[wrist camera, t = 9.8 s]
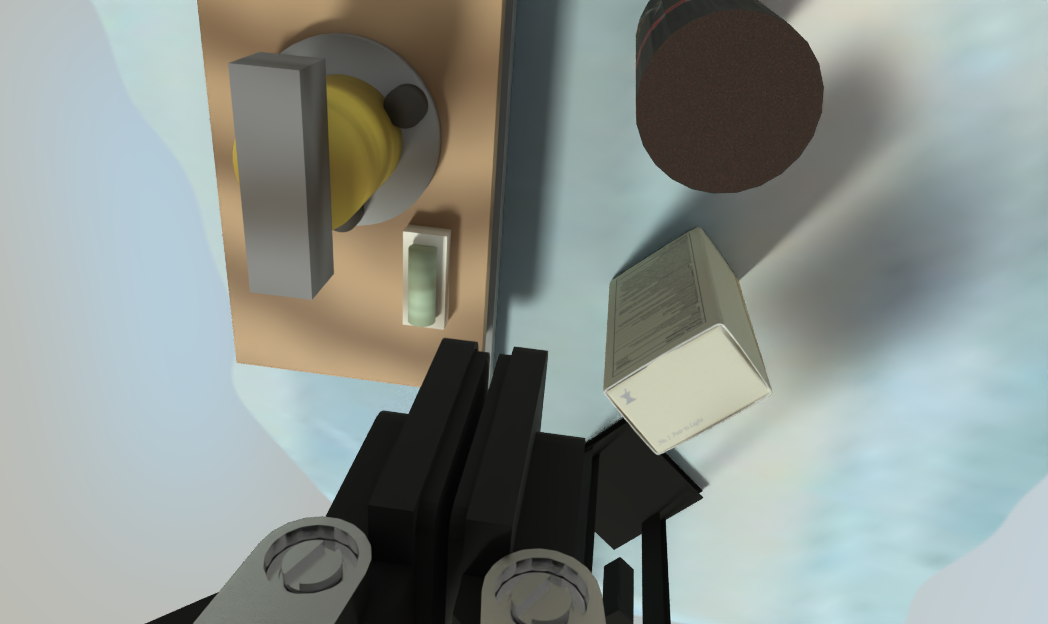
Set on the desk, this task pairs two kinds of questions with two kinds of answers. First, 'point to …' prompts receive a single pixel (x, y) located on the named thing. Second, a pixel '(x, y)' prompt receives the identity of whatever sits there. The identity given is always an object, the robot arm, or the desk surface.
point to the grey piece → (500, 177)
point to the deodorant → (723, 92)
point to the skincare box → (680, 344)
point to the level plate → (378, 248)
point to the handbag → (630, 517)
